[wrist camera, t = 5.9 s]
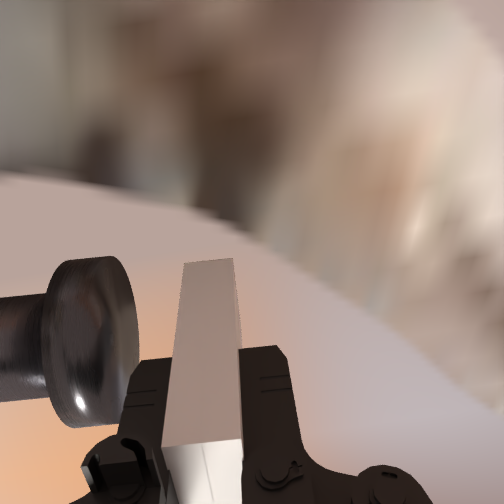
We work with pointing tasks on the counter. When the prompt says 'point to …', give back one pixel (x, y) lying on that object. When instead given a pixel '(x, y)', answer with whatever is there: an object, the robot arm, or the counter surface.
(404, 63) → the counter surface
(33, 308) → the pin
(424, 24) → the counter surface
